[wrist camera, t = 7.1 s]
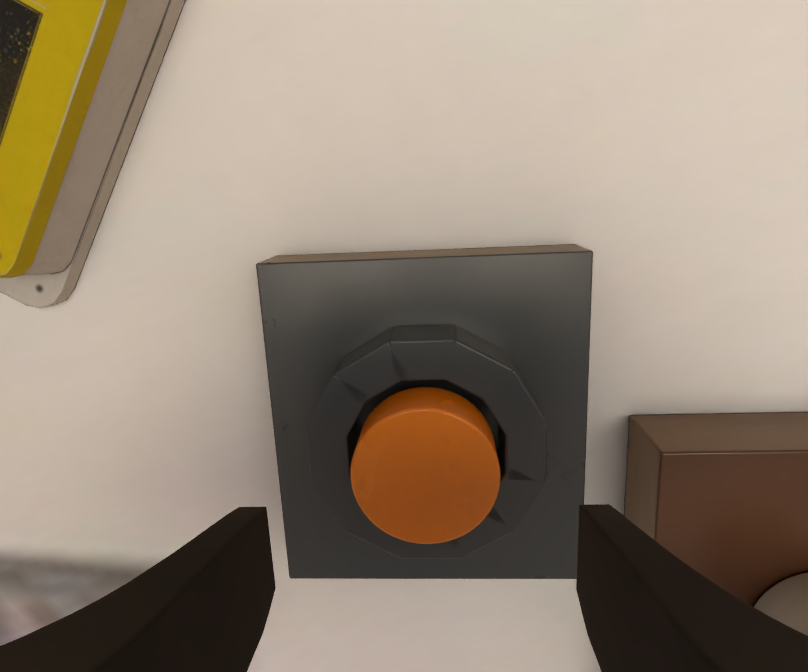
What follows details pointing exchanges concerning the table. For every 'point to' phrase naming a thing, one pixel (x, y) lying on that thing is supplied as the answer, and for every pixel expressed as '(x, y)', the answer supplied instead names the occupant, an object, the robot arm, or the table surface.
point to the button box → (441, 368)
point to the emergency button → (68, 128)
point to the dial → (788, 602)
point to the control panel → (724, 494)
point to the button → (425, 466)
